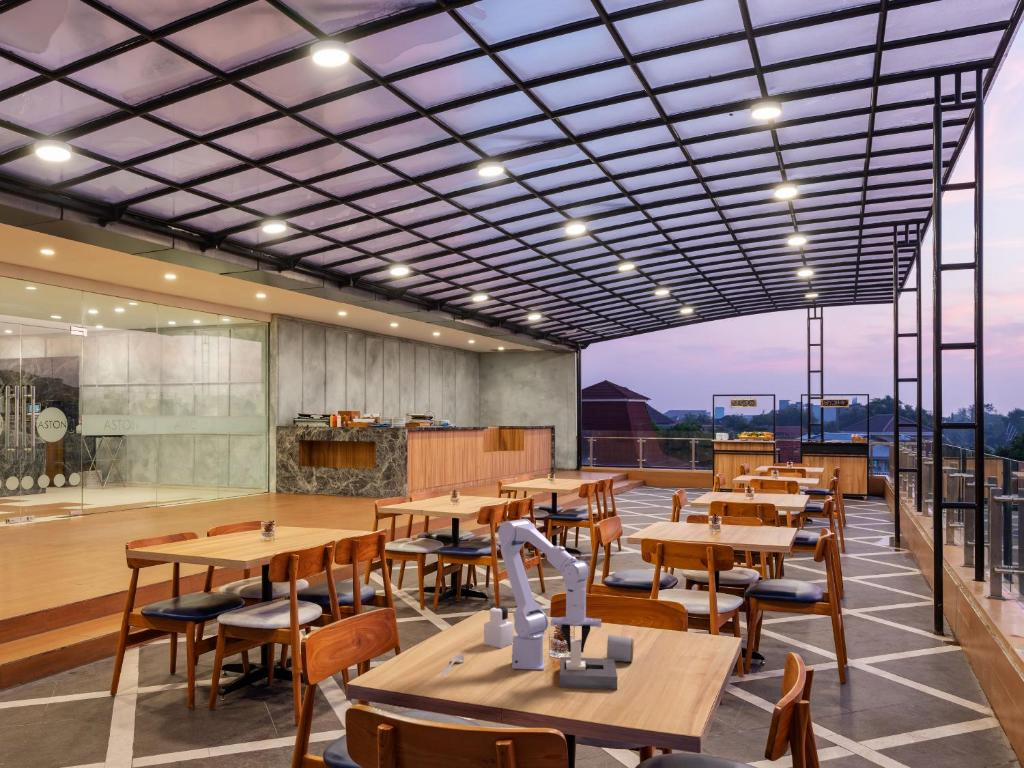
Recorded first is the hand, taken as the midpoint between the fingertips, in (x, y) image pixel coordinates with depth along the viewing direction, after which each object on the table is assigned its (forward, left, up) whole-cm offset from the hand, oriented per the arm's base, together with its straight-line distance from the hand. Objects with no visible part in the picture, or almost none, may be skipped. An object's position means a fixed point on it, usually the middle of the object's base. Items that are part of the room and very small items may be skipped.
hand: (575, 651), depth 220 cm
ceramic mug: (+14, +19, -8) cm, 25 cm away
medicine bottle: (-26, +31, -8) cm, 41 cm away
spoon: (-38, +5, -8) cm, 39 cm away
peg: (0, 0, -5) cm, 5 cm away
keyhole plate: (+3, 0, -8) cm, 9 cm away
